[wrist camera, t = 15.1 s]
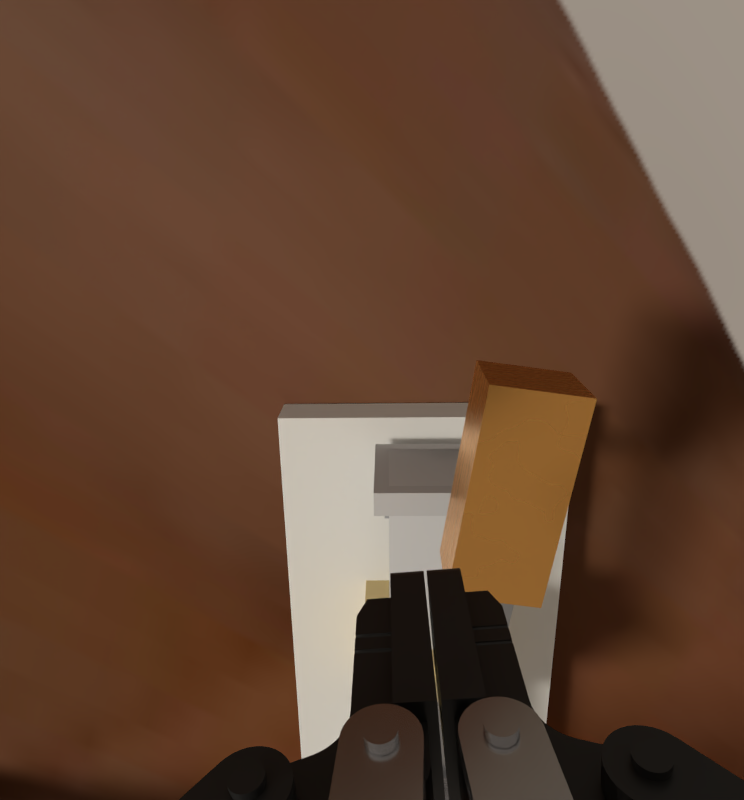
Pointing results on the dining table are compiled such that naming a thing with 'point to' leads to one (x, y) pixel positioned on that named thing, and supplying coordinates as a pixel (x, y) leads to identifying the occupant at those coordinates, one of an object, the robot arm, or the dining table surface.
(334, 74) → the dining table surface
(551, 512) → the lever
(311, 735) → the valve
